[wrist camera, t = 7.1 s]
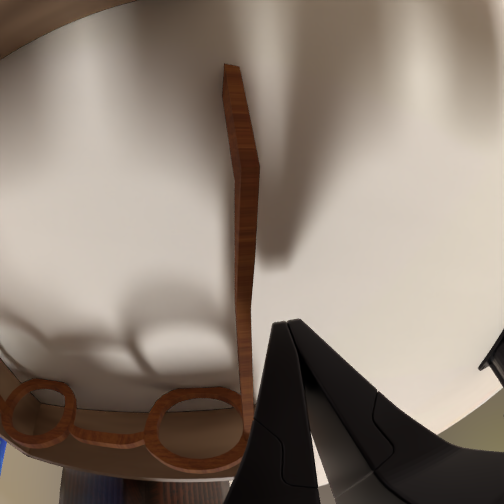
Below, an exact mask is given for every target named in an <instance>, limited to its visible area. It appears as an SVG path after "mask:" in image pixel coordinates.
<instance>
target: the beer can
mask: <svg viewBox="0 0 504 504" xmlns="http://www.w3.org/2000/svg"><path fill="white" fill-rule="evenodd" d="M6 444H7V442H6V441H5V440H4V439H2V438H1V437H0V474H1V468H2V462H3V458H4V453H5V448H6Z"/></svg>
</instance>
